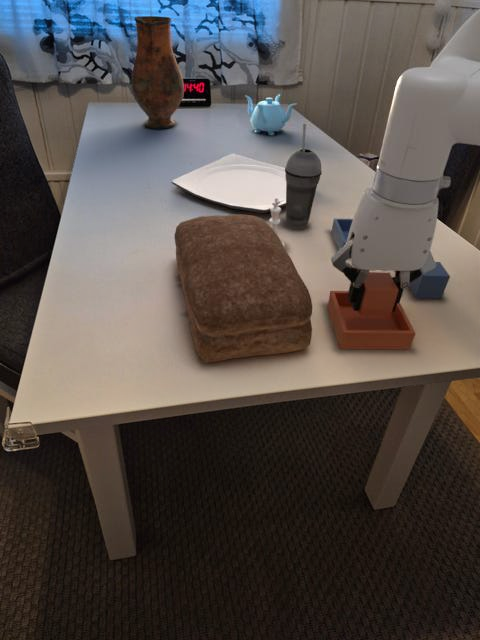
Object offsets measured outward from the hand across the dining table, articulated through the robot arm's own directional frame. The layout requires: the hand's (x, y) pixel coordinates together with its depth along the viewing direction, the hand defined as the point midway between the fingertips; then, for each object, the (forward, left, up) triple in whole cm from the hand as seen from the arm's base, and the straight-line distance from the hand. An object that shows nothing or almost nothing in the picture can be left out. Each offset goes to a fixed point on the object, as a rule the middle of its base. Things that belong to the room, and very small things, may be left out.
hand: (371, 304), depth 65 cm
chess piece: (+12, -24, -4) cm, 27 cm away
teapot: (+7, -103, -4) cm, 103 cm away
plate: (+16, -53, -4) cm, 56 cm away
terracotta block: (0, 0, 0) cm, 0 cm away
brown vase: (+43, -109, -4) cm, 117 cm away
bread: (+20, -6, -4) cm, 21 cm away
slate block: (-13, -10, -4) cm, 17 cm away
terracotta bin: (0, 0, -4) cm, 4 cm away
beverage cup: (+6, -34, -4) cm, 35 cm away
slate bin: (-6, -26, -4) cm, 27 cm away
